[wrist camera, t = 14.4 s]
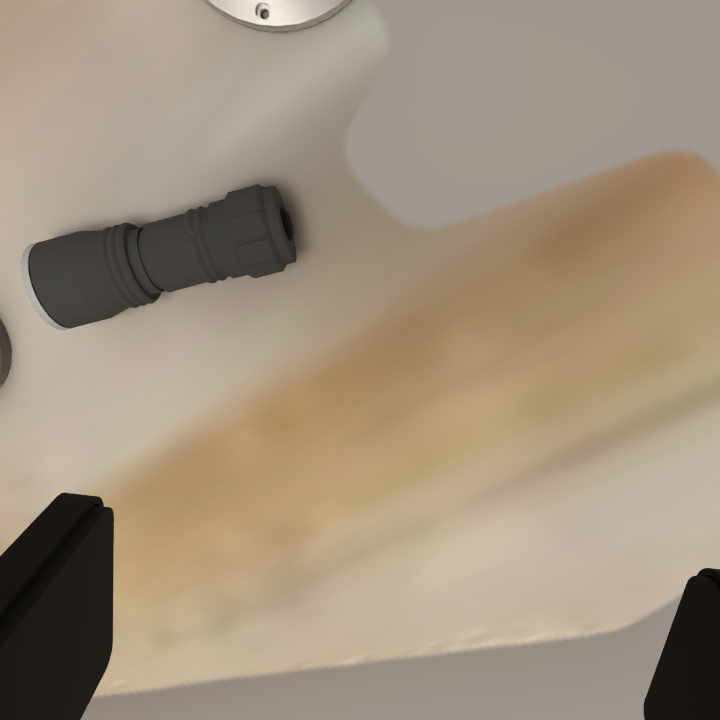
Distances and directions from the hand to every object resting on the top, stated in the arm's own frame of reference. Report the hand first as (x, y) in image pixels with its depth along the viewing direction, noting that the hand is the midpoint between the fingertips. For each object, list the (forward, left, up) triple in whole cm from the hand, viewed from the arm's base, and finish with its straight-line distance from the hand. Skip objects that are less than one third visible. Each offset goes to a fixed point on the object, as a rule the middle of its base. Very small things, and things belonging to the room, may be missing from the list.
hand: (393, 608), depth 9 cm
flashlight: (0, -13, -31) cm, 33 cm away
